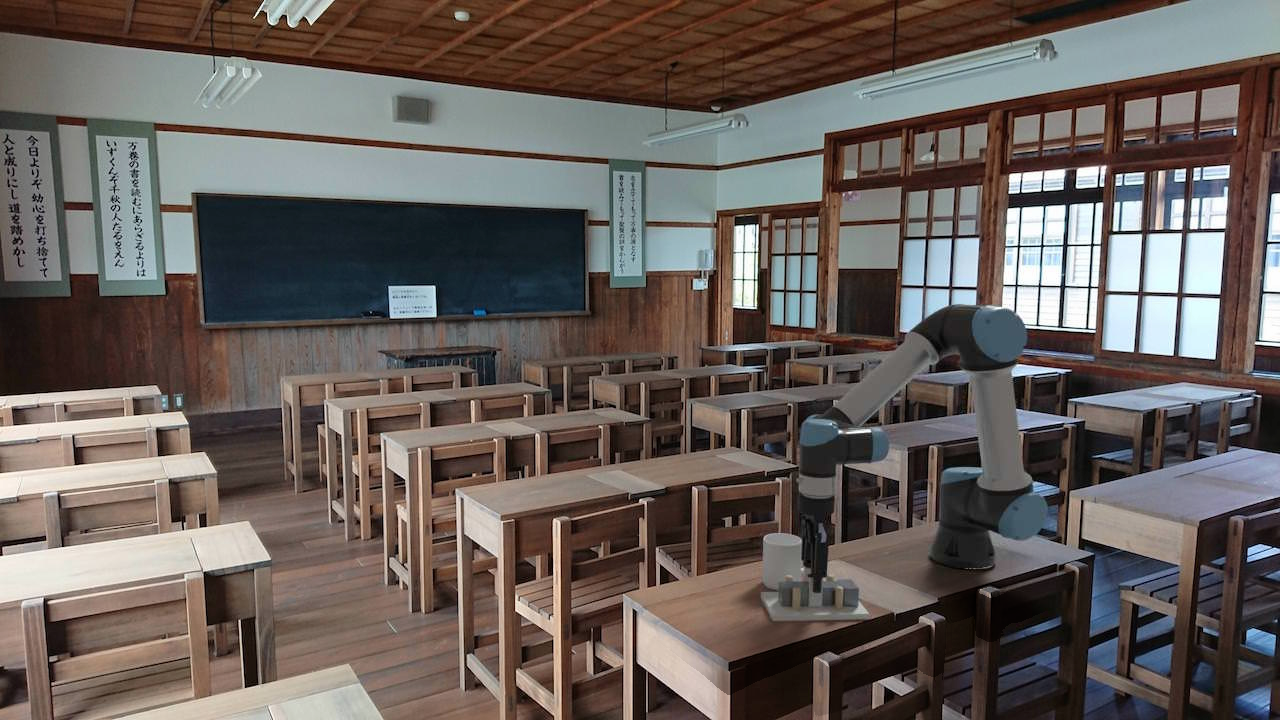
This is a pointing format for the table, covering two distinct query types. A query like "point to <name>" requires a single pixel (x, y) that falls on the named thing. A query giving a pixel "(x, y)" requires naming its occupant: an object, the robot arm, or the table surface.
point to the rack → (811, 612)
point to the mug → (781, 559)
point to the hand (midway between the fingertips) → (812, 601)
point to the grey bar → (827, 593)
